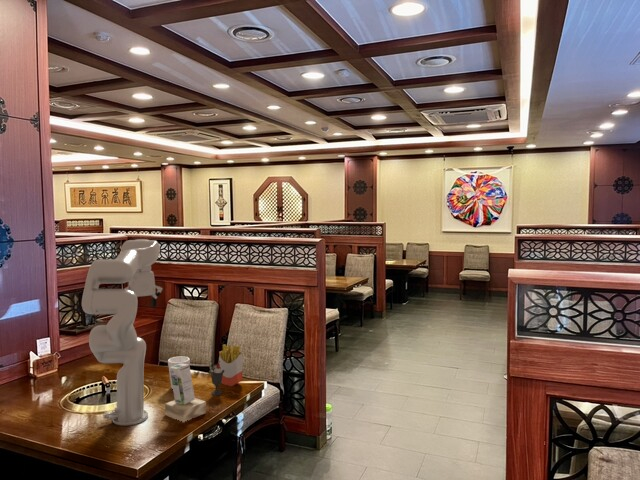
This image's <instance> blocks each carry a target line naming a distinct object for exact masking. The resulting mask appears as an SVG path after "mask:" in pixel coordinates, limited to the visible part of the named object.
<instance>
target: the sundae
mask: <svg viewBox="0 0 640 480" xmlns="http://www.w3.org/2000/svg"><path fill="white" fill-rule="evenodd" d="M219 362H220V361H219V360H218V362H217V364H213V367H212V369H210V370H209V371H208V372H209V374H210V377H211V382H212V384H213V386H214V387H215V389H214V391H212V392H211V393H210V395H211V396H220V395H223V391H221V390H219V386H220V385H221V384H222V376H223V373H224V372H225V370H223V369H222V368H221V366H220V364H219Z"/></svg>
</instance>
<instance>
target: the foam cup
mask: <svg viewBox="0 0 640 480" xmlns="http://www.w3.org/2000/svg"><path fill="white" fill-rule="evenodd" d="M181 363H182V364H189V366H190V364H191V359H190V357H188V356H184V355H183V356H182V355H180V356H173V357H170V358H169V359H167V367H168V371H169V372H168V373H169V380H170V387H171V390H172V389H173V386H172V380H171V374H170V367H172V366H174V365H177V364H181Z"/></svg>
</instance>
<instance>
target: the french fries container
mask: <svg viewBox="0 0 640 480" xmlns="http://www.w3.org/2000/svg"><path fill="white" fill-rule="evenodd" d="M218 353H219V357H218V362H219V361H220V362H219V364H220V366H221V368H222V369H223V370H225V372H224V373H223V376H222V382H221V384H222V385H225V386H230V387H234V386H235V385H237V384H239V383H240V382H241V381H242V380H243V361H244V359H243V357H244V355H243V351H242V350H240V345H235V344H234V345H232V344H231V343H230V344H222V350H221V351H218Z"/></svg>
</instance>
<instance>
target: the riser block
mask: <svg viewBox="0 0 640 480" xmlns="http://www.w3.org/2000/svg"><path fill="white" fill-rule="evenodd" d="M164 412H165V413H164V414H165V416H167V417H169V418H171V417H172V418H171V419H174V420H176V419H177V421H178V420H179V421H178V422H181V421H182V422H181V423H186V422H188V421H190V420H193V419H194V418H197V417H199V416H202V415H205V414H206V413H207V402H206V401H205V400H203V399H200V398H198V397H195V400H193V401H191V402H189V403H187V404H185V405H182V404H178V403H175V399H173V400H171V401H168V402H165V404H164ZM192 418H193V419H192ZM187 420H188V421H187ZM185 421H186V422H185Z"/></svg>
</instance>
